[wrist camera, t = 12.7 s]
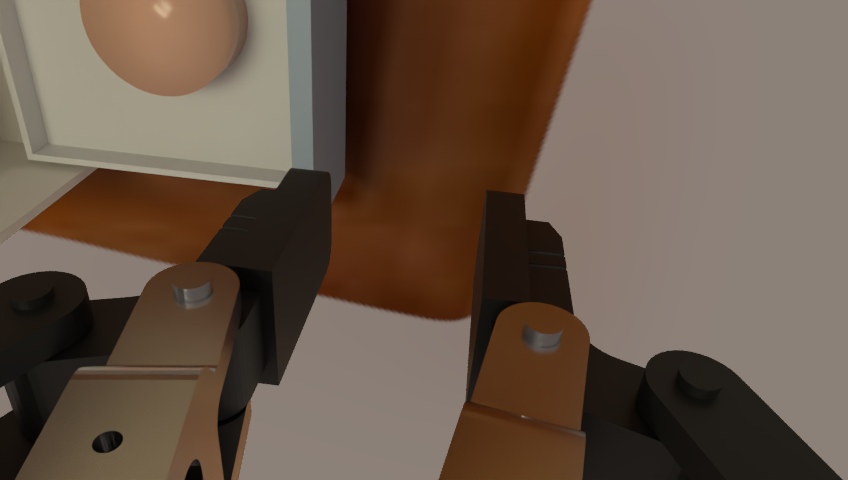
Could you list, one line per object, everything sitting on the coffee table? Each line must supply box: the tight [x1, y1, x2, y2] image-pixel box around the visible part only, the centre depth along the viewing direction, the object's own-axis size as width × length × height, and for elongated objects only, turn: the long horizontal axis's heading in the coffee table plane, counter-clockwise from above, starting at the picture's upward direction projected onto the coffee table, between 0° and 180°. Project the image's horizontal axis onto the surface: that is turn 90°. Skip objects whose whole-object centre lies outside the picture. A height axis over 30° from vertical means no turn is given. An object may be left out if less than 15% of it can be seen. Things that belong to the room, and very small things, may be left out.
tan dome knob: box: [80, 0, 248, 96], centre depth 25 cm, size 6×6×2 cm
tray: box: [0, 0, 347, 204], centre depth 24 cm, size 14×14×6 cm
